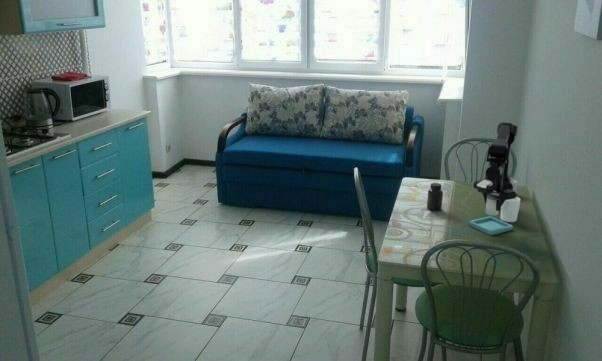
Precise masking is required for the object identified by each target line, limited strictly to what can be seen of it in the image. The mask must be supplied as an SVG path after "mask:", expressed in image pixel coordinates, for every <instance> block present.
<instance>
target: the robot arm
mask: <svg viewBox="0 0 602 361" xmlns="http://www.w3.org/2000/svg"><path fill="white" fill-rule="evenodd" d="M496 134H497V136H496V139H495V140H493V141H492V142H491V144H490V145H488V148H487V149H488V150H487V154H486V161H485V162H489V165H488V167H487V168H486V170H485V179H480V180H475V181H474V183H473V188H474V189H476V190H477V192H478V193H481V194H482V196H483V199H484V202H485V203H484V205H486V202H487V194H488V193H497V194H499V195H498V196H496V197H495V198H496V199H497V202H496V211H500V210H501V206H502V205H503V203H504V202H505V201H506V200H509V199H514V198H516V197H517V192H515V191H513V186H512V183H511V178H512V177H511V176H510V174H509V172H510V171H509V170H510V161H511V151H512V144H514V142H515V140H516V137H518V134H519V126H517V125H515V124H513V123H512V122H505V121H504V122H500V123H499V124H497V128H496Z"/></svg>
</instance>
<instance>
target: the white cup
mask: <svg viewBox="0 0 602 361" xmlns="http://www.w3.org/2000/svg"><path fill="white" fill-rule="evenodd" d="M520 205H521V198H520V197H518V196H516V198H514V199H509V200H506V201H505V202H504V203H503V205H502V206H501V208H500V220H501V221H503V222H505V223H515V222H517V221H518V220H517V219H518V215H519V210H520Z"/></svg>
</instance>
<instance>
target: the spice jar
mask: <svg viewBox="0 0 602 361" xmlns="http://www.w3.org/2000/svg"><path fill="white" fill-rule="evenodd" d="M498 195H499V194H497V193H488V194H487V202H486V204H485V214H486V215H488V216H498V215H499V211H500V210H499V211H496V202H497V199H496V198H495V197H496V196H498Z"/></svg>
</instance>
